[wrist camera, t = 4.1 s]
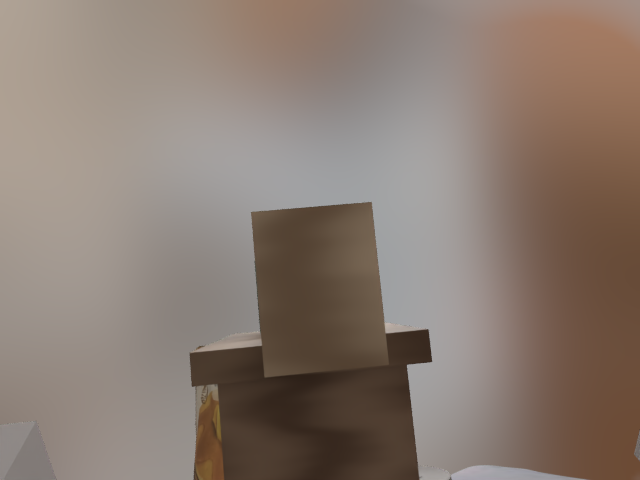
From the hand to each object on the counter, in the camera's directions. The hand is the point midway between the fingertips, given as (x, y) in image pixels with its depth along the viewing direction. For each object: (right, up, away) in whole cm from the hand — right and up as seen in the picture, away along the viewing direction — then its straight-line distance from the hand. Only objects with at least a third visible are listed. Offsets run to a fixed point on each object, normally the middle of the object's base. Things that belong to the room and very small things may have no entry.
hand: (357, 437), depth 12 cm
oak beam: (-1, -1, +16) cm, 16 cm away
